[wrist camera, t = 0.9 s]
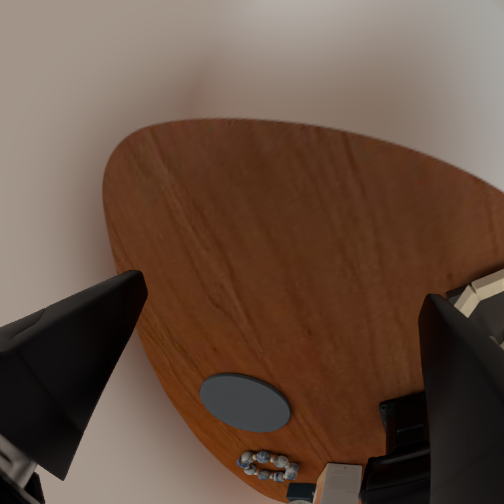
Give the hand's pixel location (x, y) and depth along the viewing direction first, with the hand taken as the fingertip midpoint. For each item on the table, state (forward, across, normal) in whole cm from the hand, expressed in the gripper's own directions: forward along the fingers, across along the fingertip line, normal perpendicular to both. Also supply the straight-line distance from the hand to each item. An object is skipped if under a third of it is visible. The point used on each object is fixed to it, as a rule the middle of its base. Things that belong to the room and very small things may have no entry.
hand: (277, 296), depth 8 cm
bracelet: (+10, +2, +42) cm, 43 cm away
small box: (+9, -9, +42) cm, 44 cm away
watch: (+8, -5, +52) cm, 53 cm away
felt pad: (+11, +6, +26) cm, 29 cm away
